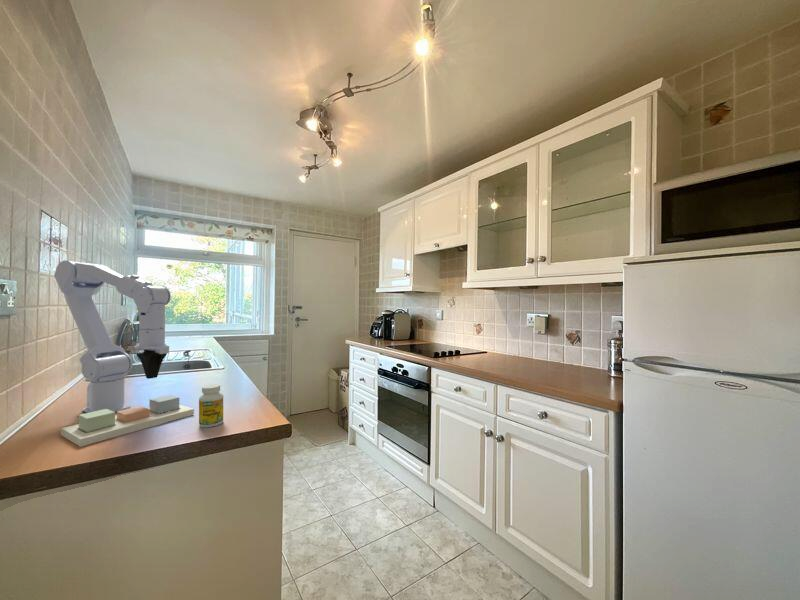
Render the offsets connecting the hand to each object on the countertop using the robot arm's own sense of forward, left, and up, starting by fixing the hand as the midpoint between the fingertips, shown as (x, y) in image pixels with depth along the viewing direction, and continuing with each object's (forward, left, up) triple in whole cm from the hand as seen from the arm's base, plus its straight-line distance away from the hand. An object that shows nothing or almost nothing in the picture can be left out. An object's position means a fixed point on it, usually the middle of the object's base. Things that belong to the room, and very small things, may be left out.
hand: (151, 377), depth 90 cm
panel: (+5, -6, -10) cm, 13 cm away
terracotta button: (+5, -6, -9) cm, 12 cm away
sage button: (+5, -13, -8) cm, 16 cm away
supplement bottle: (+22, +4, -10) cm, 25 cm away
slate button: (+5, +1, -8) cm, 10 cm away
